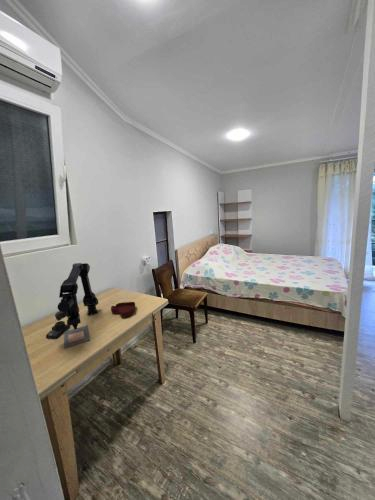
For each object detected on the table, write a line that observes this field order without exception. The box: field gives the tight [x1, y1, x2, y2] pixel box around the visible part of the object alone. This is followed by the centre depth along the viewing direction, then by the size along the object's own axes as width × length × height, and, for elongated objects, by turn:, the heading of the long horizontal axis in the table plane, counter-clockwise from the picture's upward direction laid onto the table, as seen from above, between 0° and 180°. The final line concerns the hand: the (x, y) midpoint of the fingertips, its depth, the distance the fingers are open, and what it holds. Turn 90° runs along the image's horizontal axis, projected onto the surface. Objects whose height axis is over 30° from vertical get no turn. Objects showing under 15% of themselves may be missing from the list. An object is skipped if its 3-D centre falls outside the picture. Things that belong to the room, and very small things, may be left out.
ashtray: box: [110, 301, 136, 318], centre depth 150 cm, size 18×16×5 cm
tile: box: [68, 331, 84, 343], centre depth 120 cm, size 2×8×6 cm
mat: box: [63, 325, 91, 349], centre depth 122 cm, size 18×13×1 cm
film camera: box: [45, 320, 71, 340], centre depth 126 cm, size 13×8×10 cm
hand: (75, 328), depth 119 cm, fingers closed
